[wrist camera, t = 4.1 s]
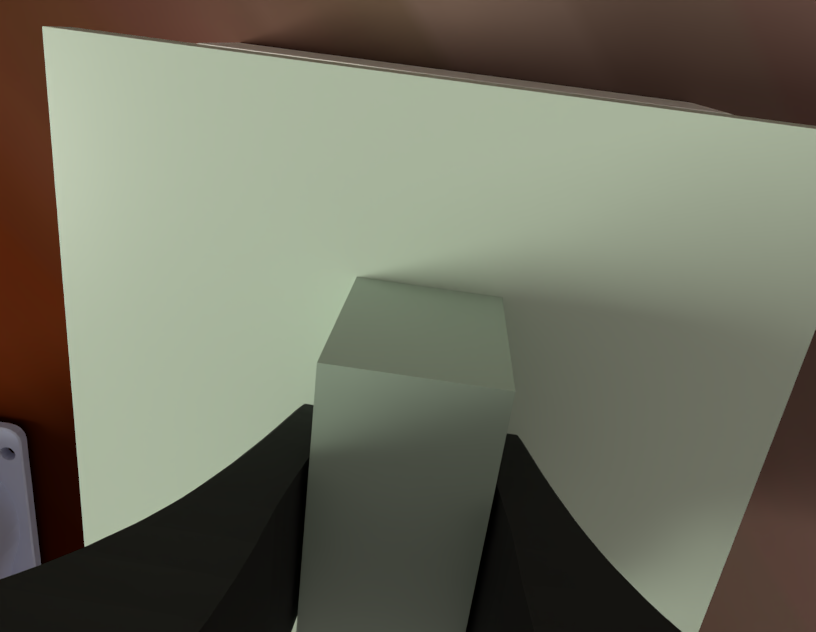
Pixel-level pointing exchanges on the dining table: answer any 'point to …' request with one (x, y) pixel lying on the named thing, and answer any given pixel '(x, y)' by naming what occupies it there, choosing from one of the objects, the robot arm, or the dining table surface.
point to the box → (465, 76)
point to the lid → (425, 308)
